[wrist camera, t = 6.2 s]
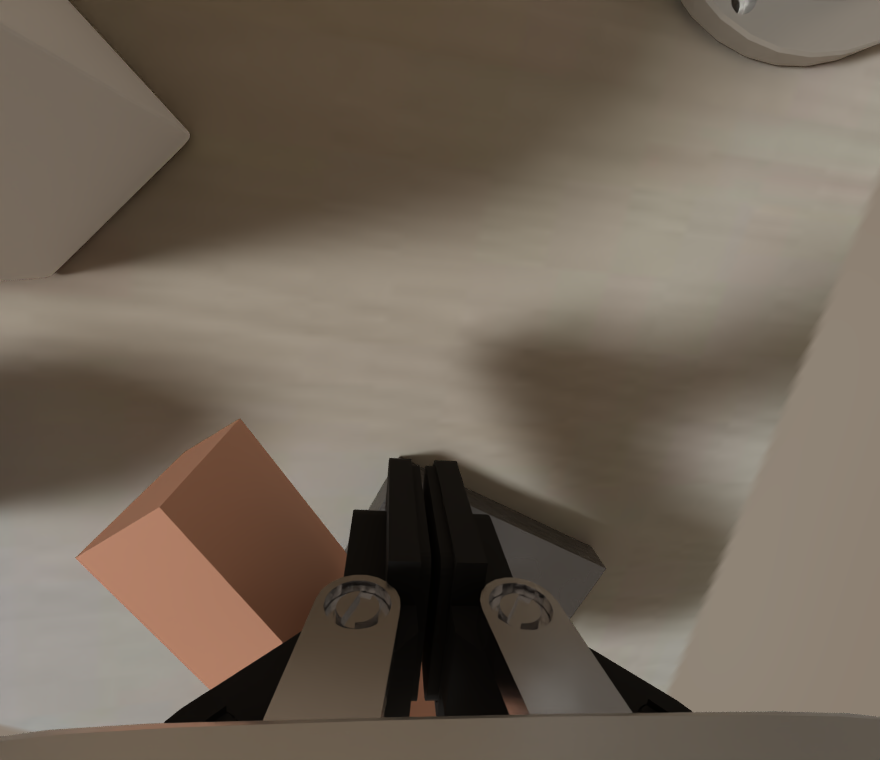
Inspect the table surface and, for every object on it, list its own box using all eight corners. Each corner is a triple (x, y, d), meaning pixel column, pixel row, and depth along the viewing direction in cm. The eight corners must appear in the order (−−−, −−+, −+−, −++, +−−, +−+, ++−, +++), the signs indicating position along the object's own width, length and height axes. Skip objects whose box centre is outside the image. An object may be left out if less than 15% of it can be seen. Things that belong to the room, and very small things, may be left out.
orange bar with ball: (598, 758, 15) (667, 928, 11) (432, 848, 16) (445, 1042, 12) (325, 366, 11) (289, 428, 7) (102, 502, 11) (-47, 631, 7)
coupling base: (399, 456, 19) (402, 555, 13) (591, 547, 21) (674, 669, 15) (294, 637, 21) (253, 800, 15) (481, 704, 23) (514, 870, 17)
